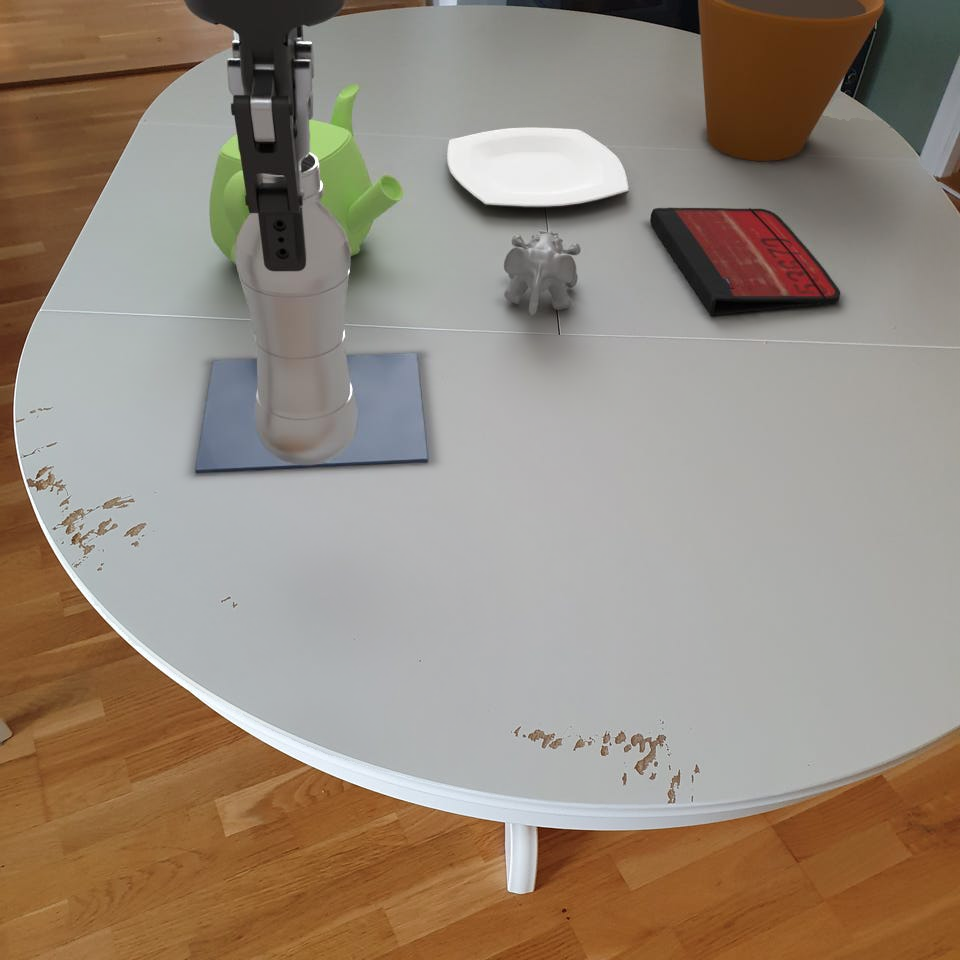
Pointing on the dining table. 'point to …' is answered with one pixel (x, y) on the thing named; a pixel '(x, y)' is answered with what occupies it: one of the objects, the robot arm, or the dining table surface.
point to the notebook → (742, 259)
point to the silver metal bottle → (301, 334)
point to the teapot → (339, 175)
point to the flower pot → (775, 68)
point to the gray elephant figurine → (541, 269)
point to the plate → (535, 167)
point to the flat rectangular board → (380, 426)
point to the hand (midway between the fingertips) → (289, 237)
